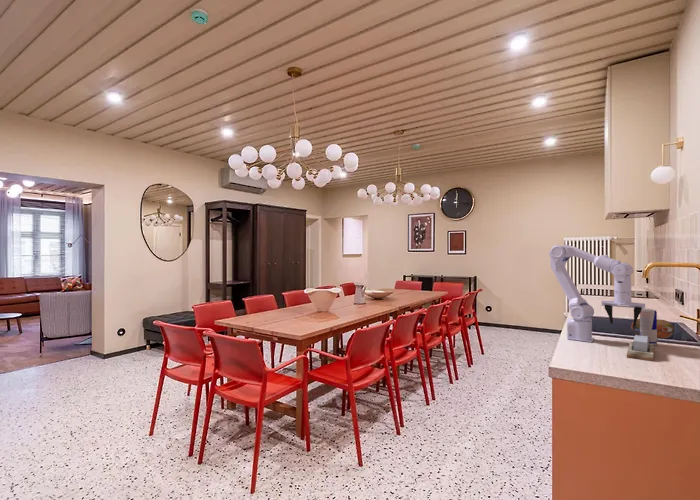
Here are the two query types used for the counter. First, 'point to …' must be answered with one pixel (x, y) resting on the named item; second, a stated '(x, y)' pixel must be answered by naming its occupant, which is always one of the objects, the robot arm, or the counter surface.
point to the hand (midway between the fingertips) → (622, 324)
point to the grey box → (641, 343)
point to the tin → (663, 328)
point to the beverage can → (649, 325)
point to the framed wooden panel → (641, 353)
